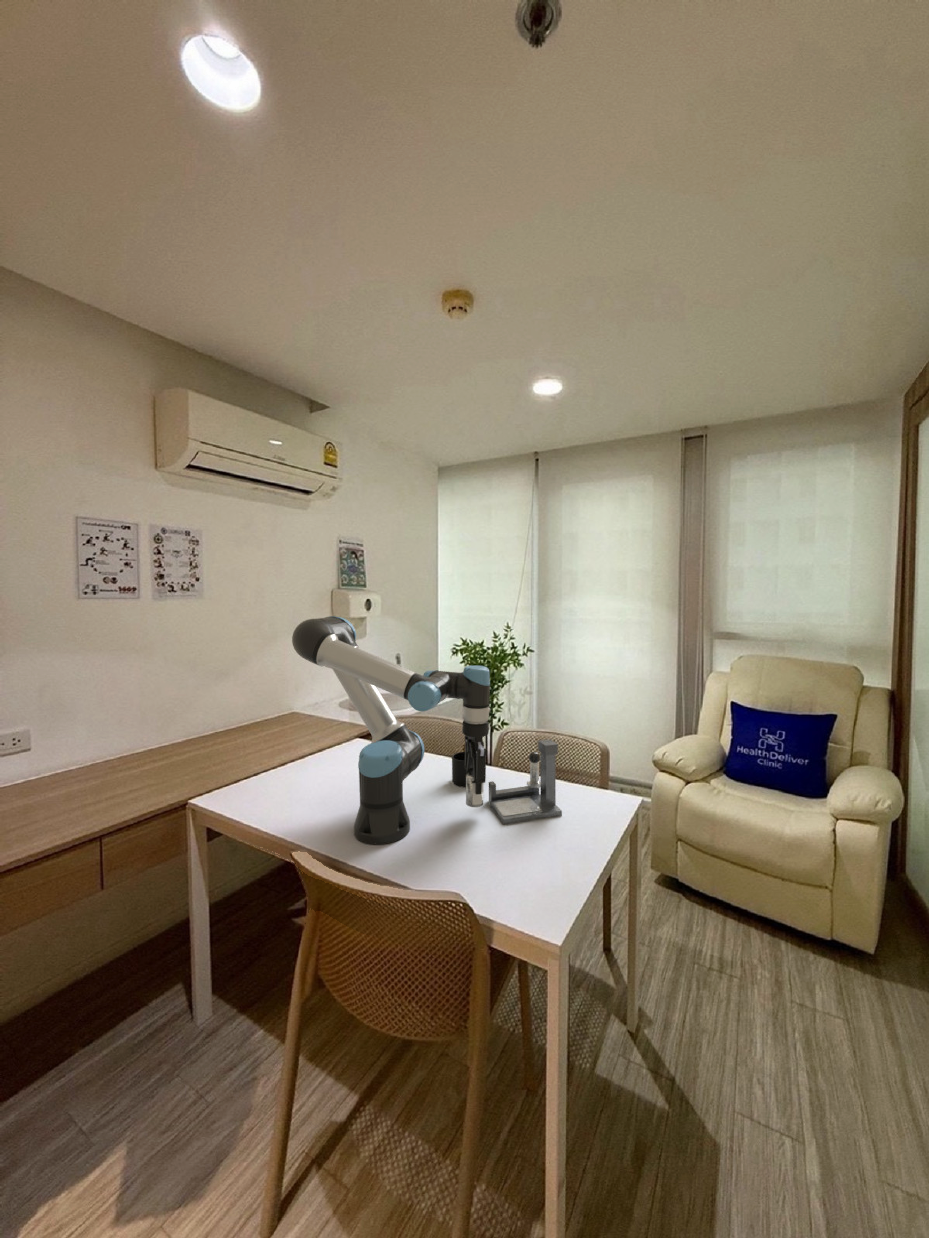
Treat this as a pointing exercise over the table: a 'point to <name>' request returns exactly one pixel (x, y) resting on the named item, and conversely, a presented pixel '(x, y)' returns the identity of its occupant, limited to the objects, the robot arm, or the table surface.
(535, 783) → the lever
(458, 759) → the mug
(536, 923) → the table surface
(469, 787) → the housing
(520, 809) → the press
